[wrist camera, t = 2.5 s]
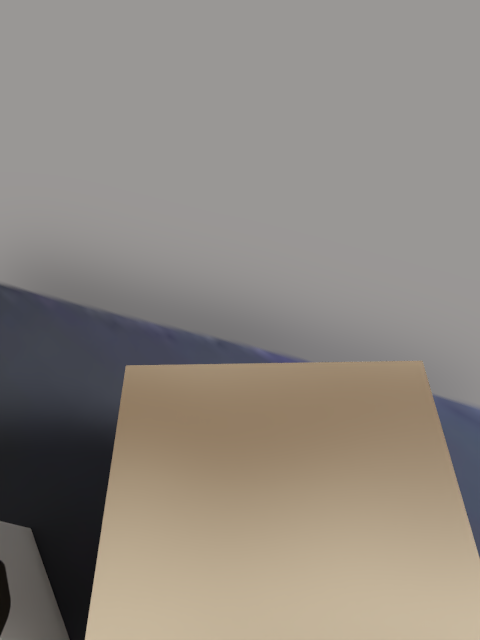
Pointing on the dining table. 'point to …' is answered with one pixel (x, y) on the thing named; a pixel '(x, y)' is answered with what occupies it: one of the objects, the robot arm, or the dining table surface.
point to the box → (28, 589)
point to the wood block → (283, 508)
